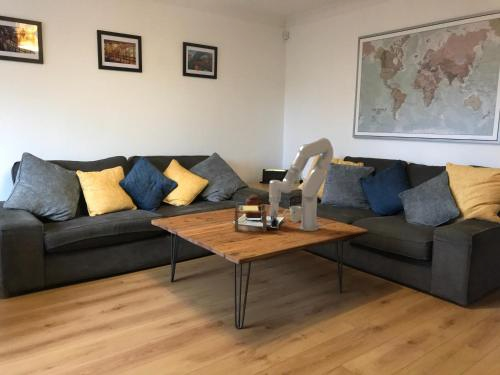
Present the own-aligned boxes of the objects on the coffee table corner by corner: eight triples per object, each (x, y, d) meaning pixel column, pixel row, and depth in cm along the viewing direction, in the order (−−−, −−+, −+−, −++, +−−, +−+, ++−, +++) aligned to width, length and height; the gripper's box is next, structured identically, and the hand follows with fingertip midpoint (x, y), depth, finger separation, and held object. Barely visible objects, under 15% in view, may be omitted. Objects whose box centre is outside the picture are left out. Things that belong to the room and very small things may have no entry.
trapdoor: (257, 207, 280) (257, 204, 279) (258, 212, 266) (258, 209, 266) (239, 207, 279) (239, 204, 279) (239, 212, 266) (239, 209, 265)
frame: (264, 223, 285) (264, 204, 283) (266, 231, 265) (266, 210, 263) (235, 223, 284) (235, 204, 282) (234, 231, 264) (234, 210, 262)
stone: (277, 226, 278) (278, 219, 277) (278, 228, 273) (278, 221, 272) (270, 226, 277) (270, 219, 277) (271, 228, 272) (271, 221, 272)
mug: (301, 222, 289) (302, 208, 287) (283, 222, 289) (283, 208, 288) (300, 219, 297) (301, 205, 296) (282, 219, 297) (283, 205, 296)
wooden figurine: (262, 219, 298) (262, 194, 295) (261, 221, 291) (261, 196, 289) (245, 218, 299) (246, 193, 297) (244, 220, 293) (244, 195, 290)
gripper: (268, 196, 280) (267, 221, 283) (269, 201, 263) (268, 227, 266) (279, 196, 281) (278, 221, 283) (281, 201, 264) (280, 228, 266)
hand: (273, 224), depth 275 cm, fingers open, 9 cm apart
